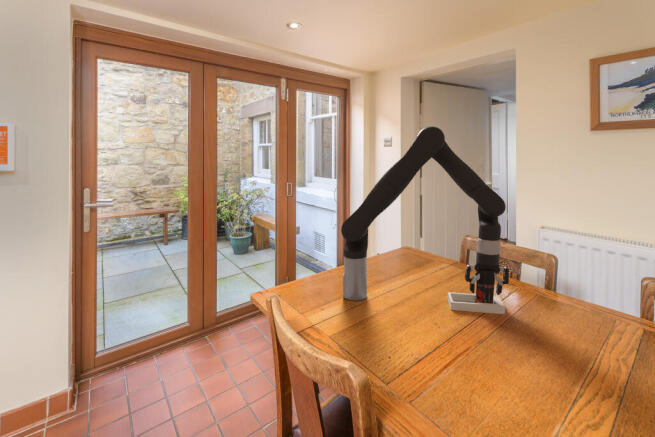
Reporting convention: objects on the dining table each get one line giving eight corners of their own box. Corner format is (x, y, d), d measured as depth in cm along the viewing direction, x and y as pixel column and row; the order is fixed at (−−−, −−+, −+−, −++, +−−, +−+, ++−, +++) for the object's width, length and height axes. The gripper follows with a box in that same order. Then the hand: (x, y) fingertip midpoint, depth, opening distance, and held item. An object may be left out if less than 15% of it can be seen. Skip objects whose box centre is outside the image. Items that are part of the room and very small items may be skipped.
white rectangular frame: (450, 309, 116) (451, 302, 116) (447, 299, 125) (447, 292, 124) (504, 314, 112) (505, 306, 112) (497, 303, 121) (498, 295, 120)
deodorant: (495, 310, 115) (498, 271, 112) (479, 311, 115) (481, 271, 112) (487, 303, 121) (490, 265, 118) (472, 303, 121) (474, 266, 118)
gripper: (468, 252, 112) (466, 296, 115) (513, 254, 109) (509, 299, 112) (465, 247, 119) (462, 287, 122) (506, 248, 116) (503, 290, 119)
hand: (485, 293), depth 117 cm, fingers open, 8 cm apart
